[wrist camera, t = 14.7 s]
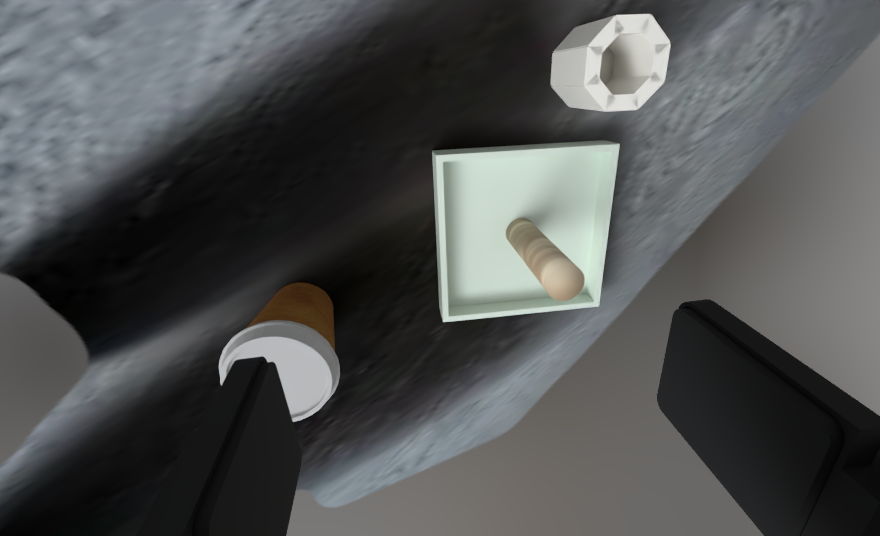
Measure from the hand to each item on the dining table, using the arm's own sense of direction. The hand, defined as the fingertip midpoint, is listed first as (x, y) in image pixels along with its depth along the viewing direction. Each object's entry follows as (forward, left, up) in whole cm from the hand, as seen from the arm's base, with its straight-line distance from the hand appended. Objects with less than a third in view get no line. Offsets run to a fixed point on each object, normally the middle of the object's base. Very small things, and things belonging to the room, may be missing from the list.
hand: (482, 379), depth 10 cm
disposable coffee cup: (+15, -12, -33) cm, 38 cm away
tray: (+8, +11, -33) cm, 35 cm away
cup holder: (-7, +17, -33) cm, 37 cm away
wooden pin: (+8, +11, -32) cm, 34 cm away
